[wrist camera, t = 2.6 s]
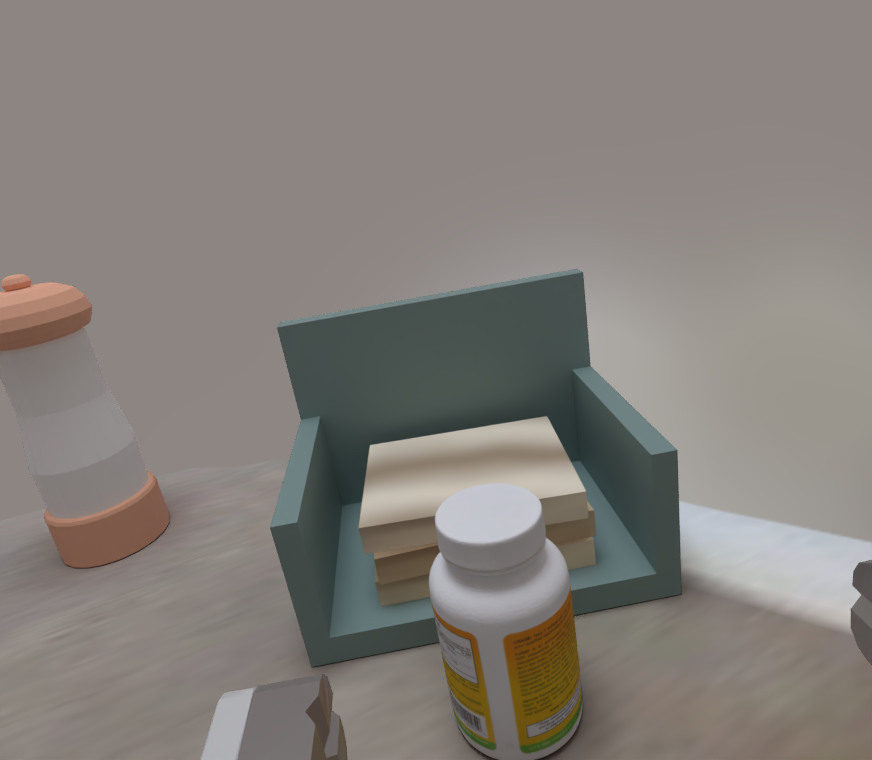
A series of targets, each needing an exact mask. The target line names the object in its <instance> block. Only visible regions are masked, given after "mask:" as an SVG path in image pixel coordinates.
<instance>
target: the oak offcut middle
mask: <svg viewBox="0 0 872 760" xmlns="http://www.w3.org/2000/svg"><path fill="white" fill-rule="evenodd" d="M587 506H588V518H586V519H580V520H574V521H568V522H561V523H555V524H549V525H545V528H546V538H547V539H549V540H550V541H551V542H552V543H553V544H554V545H557V544H561V543H566V542H570V541H575V540H579V539H583V538H588V537H592V536H596V526H595V514H594V509H593V508H592V506H591V505H590V504H589V502H588V501H587ZM439 553H440V550H439V547H438V542H437V543H431V544H425V545H418V546H412V547H406V548H400V549H394V550H387V551H381V552H375V553H374V561H375V565H376V569H377V573H378V578H379V582H380V585H382V584H386V583H391V582H395V581H399V580H404V579H408V578H413V577H417V576H421V575H426V574H430V570H431V567H432V565H433V562H434V560H435V558H436V557H437V555H438V554H439Z"/></svg>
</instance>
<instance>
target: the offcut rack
mask: <svg viewBox="0 0 872 760" xmlns="http://www.w3.org/2000/svg"><path fill="white" fill-rule="evenodd" d="M277 329H278V333H279V337H280V341H281V345H282V348H283V352H284V356H285V360H286V364H287V368H288V372H289V375H290V379H291V383H292V387H293V391H294V395H295V398H296V402H297V406H298V410H299V414H300V418H301V422H300V425H299V429H298V432H297V435H296V439H295V442H294V446H293V449H292V453H291V456H290V460H289V463H288V467H287V470H286V474H285V477H284V481H283V484H282V488H281V491H280V495H279V498H278V502H277V505H276V508H275V512H274V515H273V519H272V522H271V526H270V529H271V532H272V536H273V539H274V542H275V546H276V549H277V552H278V556H279V559H280V562H281V566H282V569H283V572H284V576H285V579H286V583H287V586H288V589H289V593H290V596H291V599H292V603H293V606H294V609H295V613H296V616H297V619H298V623H299V626H300V629H301V633H302V636H303V639H304V643H305V646H306V649H307V653H308V656H309V659H310V663H311V666H312V667H315V666H320V665H325V664H330V663H335V662H340V661H345V660H350V659H355V658H360V657H365V656H370V655H375V654H381V653H386V652H391V651H396V650H401V649H406V648H411V647H416V646H421V645H426V644H431V643H436V642H439V637H438V632H437V627H436V622H435V618H434V613H433V608H432V603H431V598H430V597H427V598H422V599H417V600H412V601H407V602H402V603H397V604H392V605H386V606H381V604H380V600H379V596H378V591H377V587H376V583H375V561H374V553H369V554H365V553H364V549H363V545H362V541H361V537H360V532H359V521H360V513H361V506H362V499H363V492H364V484H365V477H366V470H367V463H368V455H369V448H370V445H374V444H380V443H386V442H392V441H398V440H405V439H411V438H417V437H423V436H429V435H435V434H441V433H447V432H453V431H459V430H465V429H471V428H478V427H484V426H490V425H496V424H502V423H508V422H514V421H520V420H526V419H532V418H538V417H545V416H547V417H548V419H549V421H550V423H551V425H552V427H553V429H554V430H555V432H556V434H557V436H558V438H559V440H560V442H561V444H562V446H563V448H564V450H565V452H566V454H567V455H568V457H569V459H570V461H571V463H572V465H573V467H574V469H575V471H576V473H577V475H578V477H579V479H580V480H581V482H582V484H583V486H584V488H585V490H586V495H587V501H588V502H589V504H590V505H591V506H592V508H593V509H594V514H595V526H596V536H592V538H593V539H594V548H595V560H596V565H591V566H586V567H581V568H576V569H571V570H568V572H569V578H570V586H571V596H572V604H573V612H574V615H578V614H583V613H588V612H593V611H598V610H603V609H608V608H613V607H618V606H624V605H629V604H634V603H639V602H644V601H649V600H654V599H659V598H664V597H669V596H674V595H679V594H682V593H681V559H680V525H679V494H678V493H679V491H678V458H677V449H676V448H675V447H673V445H672V444H670V443H669V442H668V441H667V440H666V439H665V438H664V437H663V436H662V435H661V434H660V433H659V432H658V431H657V430H656V429H655V428H654V427H653V426H652V425H651V424H650V423H649V422H648V421H647V420H646V419H645V418H644V417H642V415H641V414H640V413H638V412H637V411H636V410H635V409H634V408H633V407H632V406H631V405H630V404H629V403H628V402H627V401H626V400H625V399H624V398H623V397H622V396H621V395H620V394H619V393H618V392H617V391H616V390H615V389H613V388H612V387H611V385H610V384H608V383H607V382H606V381H605V380H604V379H603V378H602V377H601V376H600V375H599V374H598V373H597V372H596V371H595V370H594V369H593V368H592V367H591V366H590V353H589V342H588V329H587V316H586V303H585V291H584V278H583V272H582V271H580V270H578V269H573V270H568V271H563V272H557V273H551V274H546V275H541V276H534V277H529V278H523V279H518V280H512V281H507V282H501V283H496V284H490V285H485V286H479V287H473V288H468V289H462V290H457V291H451V292H446V293H441V294H434V295H429V296H423V297H418V298H413V299H407V300H401V301H396V302H390V303H385V304H379V305H373V306H368V307H362V308H357V309H352V310H346V311H340V312H335V313H329V314H323V315H318V316H313V317H307V318H301V319H296V320H290V321H285V322H280V323H279V325H278V327H277Z"/></svg>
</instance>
